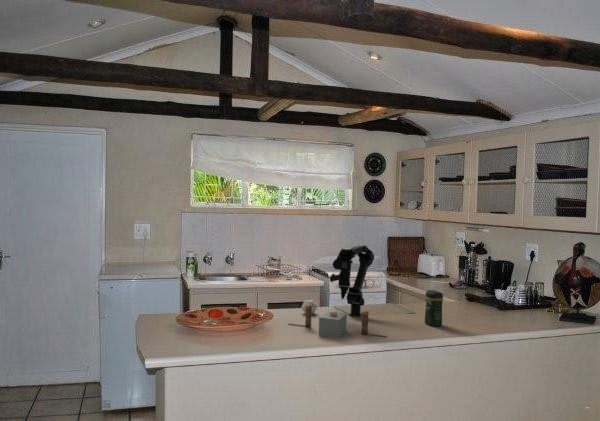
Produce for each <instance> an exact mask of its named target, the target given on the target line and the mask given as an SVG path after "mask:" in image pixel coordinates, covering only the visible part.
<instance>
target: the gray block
mask: <svg viewBox="0 0 600 421" xmlns="http://www.w3.org/2000/svg"><path fill="white" fill-rule="evenodd" d="M347 318H348V314H347V313H344V312H343V313H342V312H338V311H336V310H329V311H327V312H325V313H324V314H322V315H320V316H319V318H318V336H320V337H321V336H322V337H327V338H328V337H329V338H336V339H339V338H340V337H342V336H343V335H344V334H345V333H346V332H347V324H348V323H347V322H348V321H347Z"/></svg>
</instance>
